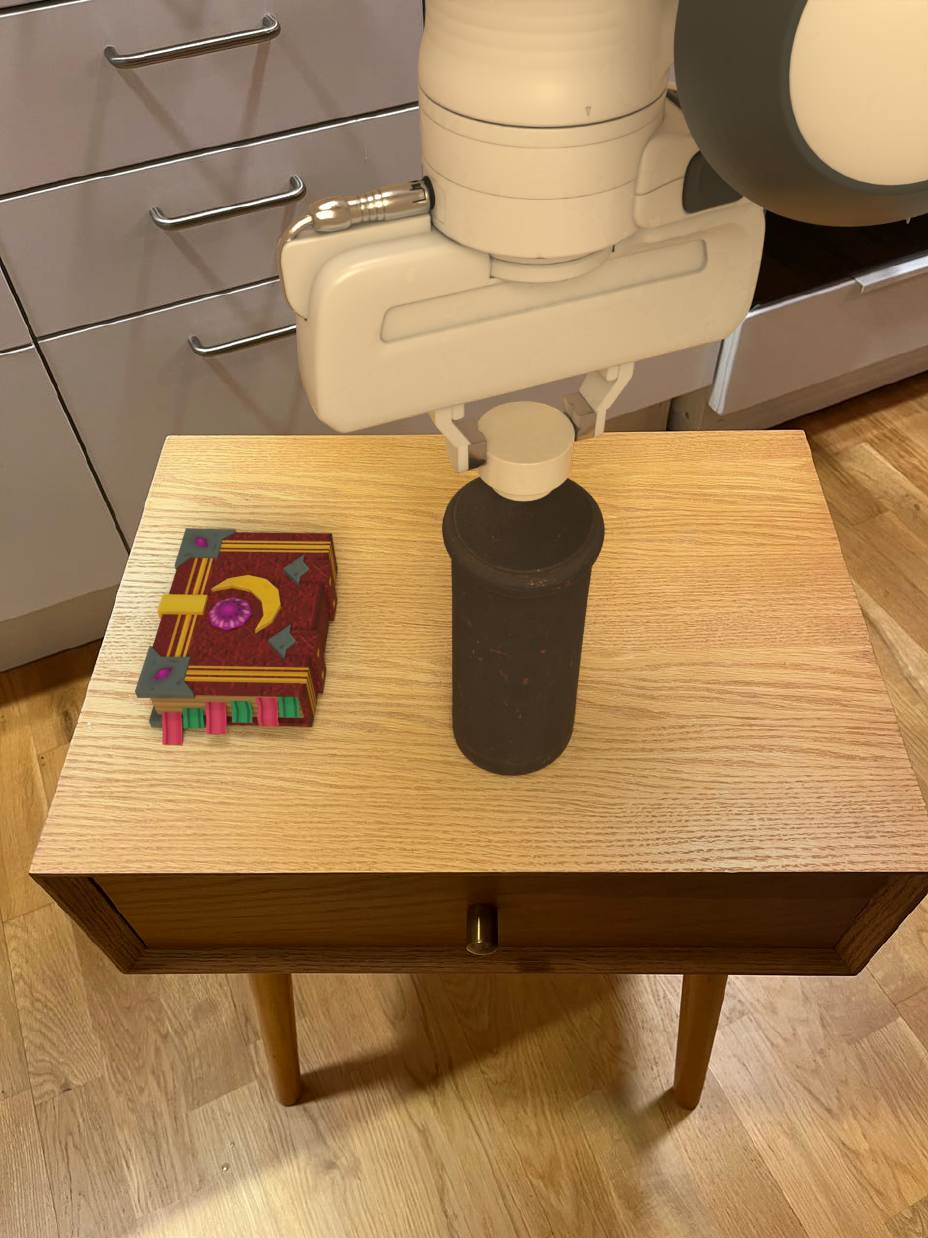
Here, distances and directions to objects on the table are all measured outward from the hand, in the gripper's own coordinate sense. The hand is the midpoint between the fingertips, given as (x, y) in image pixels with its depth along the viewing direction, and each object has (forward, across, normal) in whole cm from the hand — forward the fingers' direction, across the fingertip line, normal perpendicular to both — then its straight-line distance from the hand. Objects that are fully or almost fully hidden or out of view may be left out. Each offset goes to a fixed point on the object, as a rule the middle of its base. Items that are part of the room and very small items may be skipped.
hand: (525, 446), depth 47 cm
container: (+24, 0, 0) cm, 24 cm away
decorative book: (+24, -15, +13) cm, 31 cm away
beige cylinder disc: (+2, 0, 0) cm, 2 cm away
